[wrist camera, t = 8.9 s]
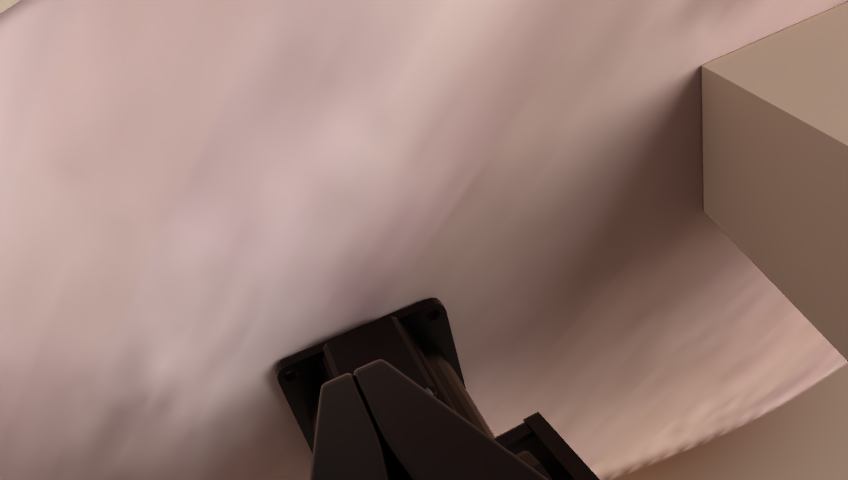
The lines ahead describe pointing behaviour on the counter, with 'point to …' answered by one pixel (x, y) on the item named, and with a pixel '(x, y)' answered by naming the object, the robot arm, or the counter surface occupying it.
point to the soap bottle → (785, 162)
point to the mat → (7, 4)
